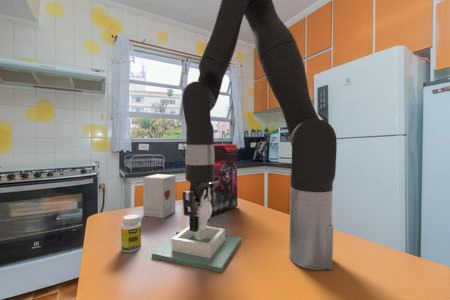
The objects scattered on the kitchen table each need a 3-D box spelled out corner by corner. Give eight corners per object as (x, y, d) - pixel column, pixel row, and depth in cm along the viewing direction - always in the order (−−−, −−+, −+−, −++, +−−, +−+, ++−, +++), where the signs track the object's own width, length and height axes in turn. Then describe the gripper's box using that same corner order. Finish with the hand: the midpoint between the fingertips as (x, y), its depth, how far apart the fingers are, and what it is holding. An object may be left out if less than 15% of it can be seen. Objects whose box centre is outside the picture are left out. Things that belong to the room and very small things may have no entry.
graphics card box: (211, 217, 81) (211, 144, 80) (198, 213, 86) (198, 144, 85) (237, 207, 95) (238, 144, 94) (225, 204, 99) (225, 143, 98)
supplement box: (163, 219, 80) (162, 178, 79) (142, 216, 83) (142, 176, 82) (176, 211, 88) (176, 174, 88) (157, 209, 91) (157, 173, 91)
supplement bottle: (128, 254, 54) (128, 221, 54) (117, 249, 57) (117, 217, 57) (144, 247, 59) (144, 215, 58) (133, 242, 61) (133, 212, 61)
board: (241, 241, 62) (241, 227, 62) (221, 272, 47) (221, 254, 47) (185, 232, 68) (185, 219, 68) (151, 257, 53) (151, 241, 53)
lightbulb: (208, 246, 54) (208, 201, 54) (184, 243, 55) (183, 200, 55) (214, 235, 60) (214, 195, 60) (192, 233, 61) (192, 194, 61)
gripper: (201, 165, 49) (201, 239, 49) (223, 160, 62) (223, 218, 63) (172, 164, 51) (172, 234, 52) (199, 159, 65) (199, 215, 66)
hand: (200, 225), depth 58 cm, fingers closed on lightbulb, 6 cm apart
